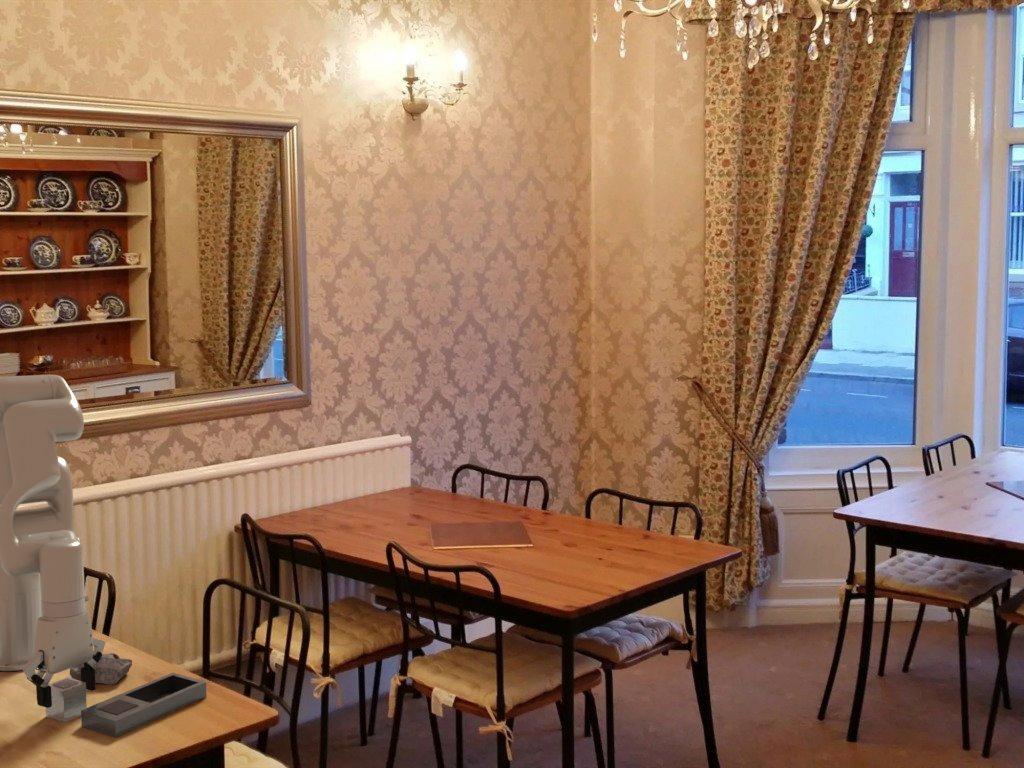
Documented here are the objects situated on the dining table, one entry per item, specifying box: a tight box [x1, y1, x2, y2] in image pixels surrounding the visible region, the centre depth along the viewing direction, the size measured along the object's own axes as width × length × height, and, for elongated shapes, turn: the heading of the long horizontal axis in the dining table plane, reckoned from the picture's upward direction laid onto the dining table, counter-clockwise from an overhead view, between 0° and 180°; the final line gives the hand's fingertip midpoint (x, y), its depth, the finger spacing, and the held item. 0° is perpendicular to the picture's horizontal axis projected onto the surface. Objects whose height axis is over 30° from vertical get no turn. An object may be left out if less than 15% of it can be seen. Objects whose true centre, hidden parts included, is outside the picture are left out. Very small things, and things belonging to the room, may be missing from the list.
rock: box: [69, 652, 133, 686], centre depth 235 cm, size 8×11×5 cm
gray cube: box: [45, 676, 88, 723], centre depth 216 cm, size 5×5×6 cm
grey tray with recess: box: [80, 672, 207, 738], centre depth 219 cm, size 9×22×3 cm, turn 150°
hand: (67, 697), depth 216 cm, fingers open, 9 cm apart
